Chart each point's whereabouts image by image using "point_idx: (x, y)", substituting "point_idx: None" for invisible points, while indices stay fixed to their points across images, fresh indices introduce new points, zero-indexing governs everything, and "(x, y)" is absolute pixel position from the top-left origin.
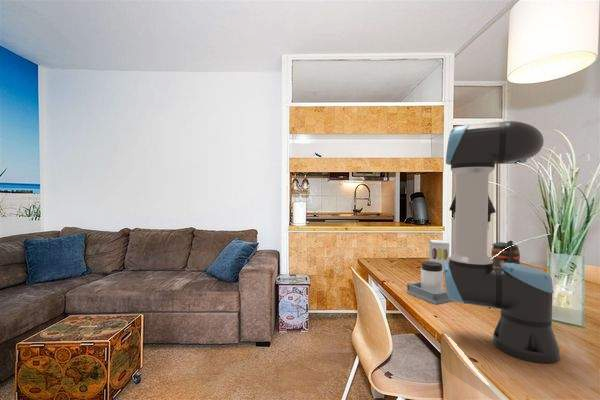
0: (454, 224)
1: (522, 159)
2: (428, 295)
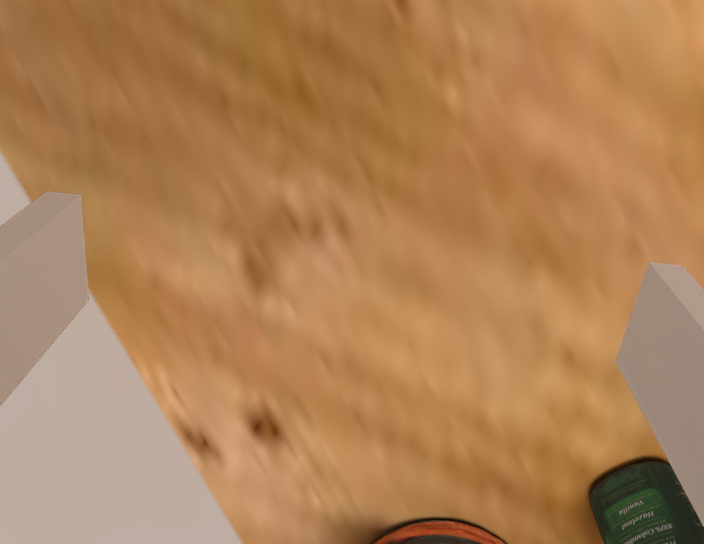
0: (697, 283)
1: None
2: None
